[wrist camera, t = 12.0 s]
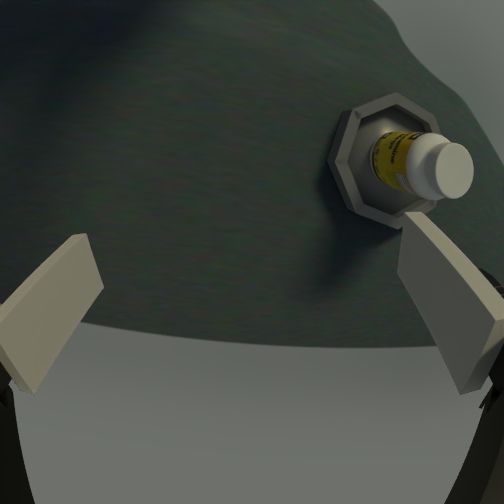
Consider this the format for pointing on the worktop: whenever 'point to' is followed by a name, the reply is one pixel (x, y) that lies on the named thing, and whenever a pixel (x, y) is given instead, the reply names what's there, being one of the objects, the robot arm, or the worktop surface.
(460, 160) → the pill bottle
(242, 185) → the worktop surface
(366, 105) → the octagonal tray
